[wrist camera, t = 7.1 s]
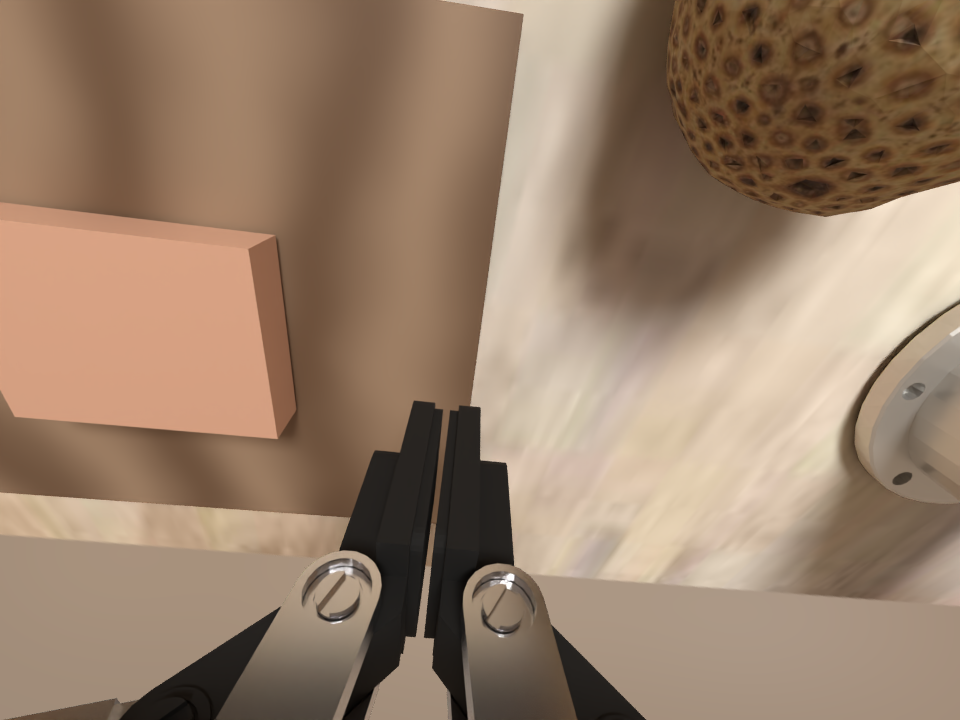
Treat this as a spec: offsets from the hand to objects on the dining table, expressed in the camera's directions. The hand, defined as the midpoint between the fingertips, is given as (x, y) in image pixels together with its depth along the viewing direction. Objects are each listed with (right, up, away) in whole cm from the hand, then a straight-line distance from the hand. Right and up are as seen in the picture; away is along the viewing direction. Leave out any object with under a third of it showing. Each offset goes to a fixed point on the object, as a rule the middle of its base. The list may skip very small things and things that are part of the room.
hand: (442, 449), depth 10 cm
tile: (-6, +3, +4) cm, 8 cm away
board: (-11, +5, +5) cm, 13 cm away
